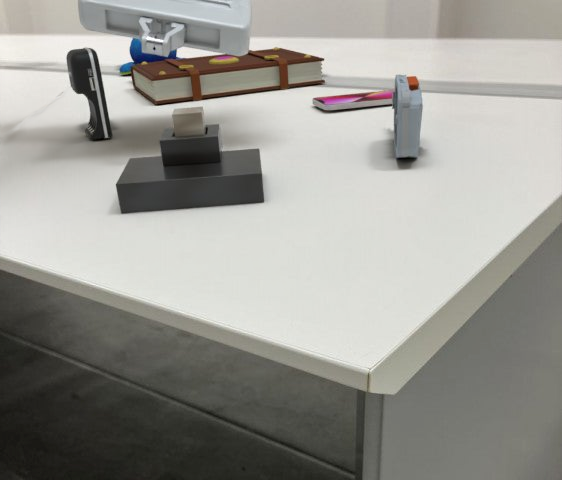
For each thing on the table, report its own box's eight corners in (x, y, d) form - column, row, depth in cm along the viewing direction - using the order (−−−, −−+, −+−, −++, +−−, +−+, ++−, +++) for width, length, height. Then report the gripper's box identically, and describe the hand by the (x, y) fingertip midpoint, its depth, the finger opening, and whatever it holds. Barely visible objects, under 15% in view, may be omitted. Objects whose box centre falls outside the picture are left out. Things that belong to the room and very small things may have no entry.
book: (325, 84, 125) (324, 54, 122) (156, 105, 116) (151, 74, 114) (282, 70, 143) (280, 44, 140) (133, 88, 135) (128, 60, 132)
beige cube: (175, 140, 69) (171, 114, 68) (177, 134, 72) (174, 108, 71) (204, 138, 69) (201, 111, 68) (205, 131, 72) (203, 106, 71)
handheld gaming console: (391, 138, 86) (392, 69, 82) (414, 137, 85) (417, 68, 81) (394, 169, 74) (396, 90, 69) (422, 168, 73) (425, 89, 69)
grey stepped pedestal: (121, 213, 66) (110, 156, 63) (135, 182, 76) (126, 130, 73) (264, 202, 66) (259, 144, 64) (261, 172, 76) (257, 120, 73)
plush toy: (120, 79, 146) (113, 36, 142) (118, 70, 161) (112, 30, 156) (197, 72, 149) (192, 29, 145) (189, 63, 163) (184, 24, 159)
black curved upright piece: (79, 134, 100) (62, 48, 94) (105, 130, 101) (89, 45, 95) (86, 143, 94) (67, 52, 88) (113, 139, 95) (97, 49, 90)
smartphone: (418, 96, 104) (325, 105, 101) (418, 102, 104) (325, 112, 101) (399, 89, 110) (310, 97, 107) (398, 95, 110) (310, 104, 107)
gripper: (92, -47, 82) (57, 3, 73) (260, -17, 83) (245, 36, 74) (96, 7, 87) (65, 60, 78) (255, 34, 88) (240, 90, 79)
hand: (154, 48), depth 76 cm, fingers closed
